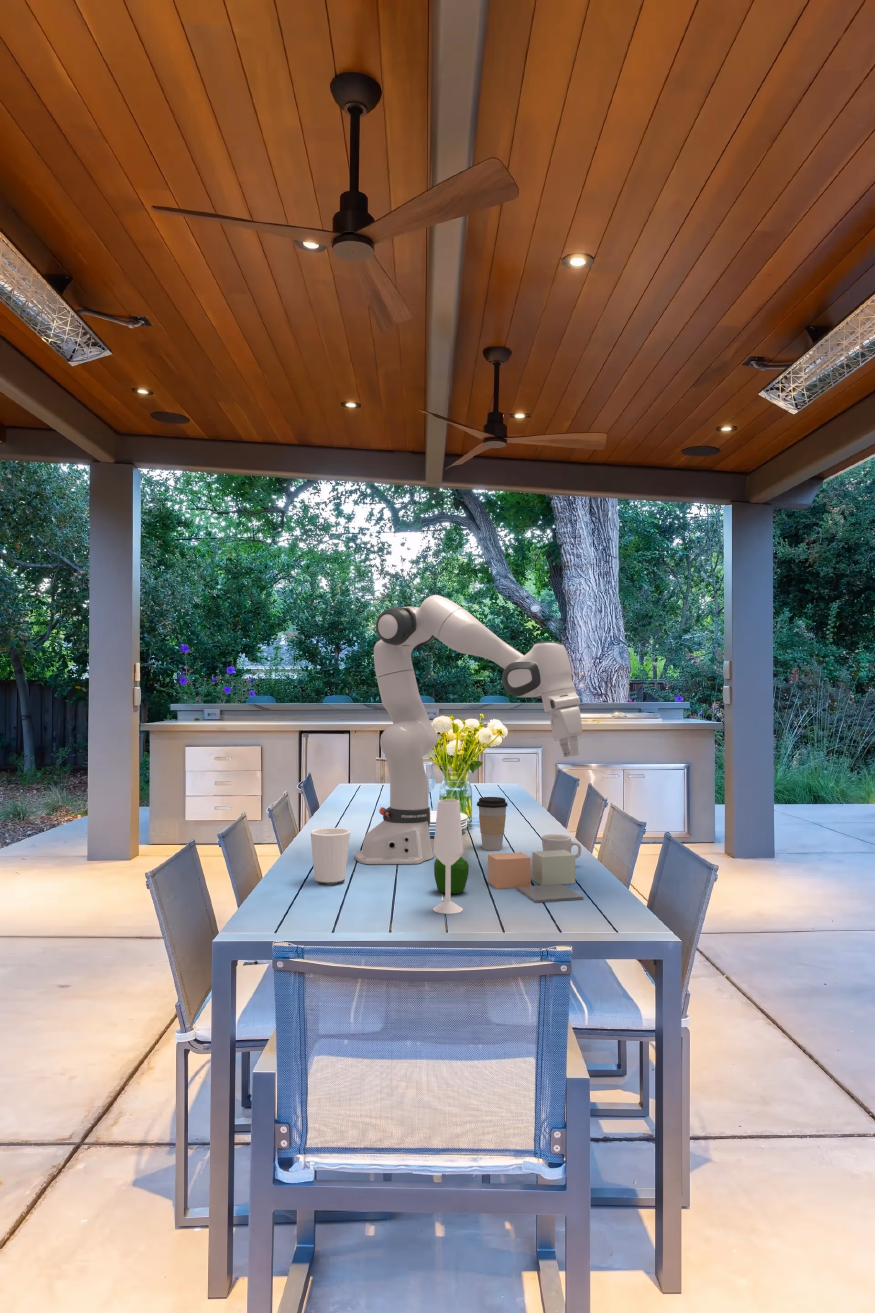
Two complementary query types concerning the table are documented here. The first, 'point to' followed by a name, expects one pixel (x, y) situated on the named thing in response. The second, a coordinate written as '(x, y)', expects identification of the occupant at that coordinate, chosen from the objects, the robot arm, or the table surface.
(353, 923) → the table surface
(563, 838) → the cup
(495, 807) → the coffee cup
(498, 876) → the terracotta block
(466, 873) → the bell pepper
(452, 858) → the champagne flute
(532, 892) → the slate coaster
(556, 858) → the matte beige cube
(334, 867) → the cup
